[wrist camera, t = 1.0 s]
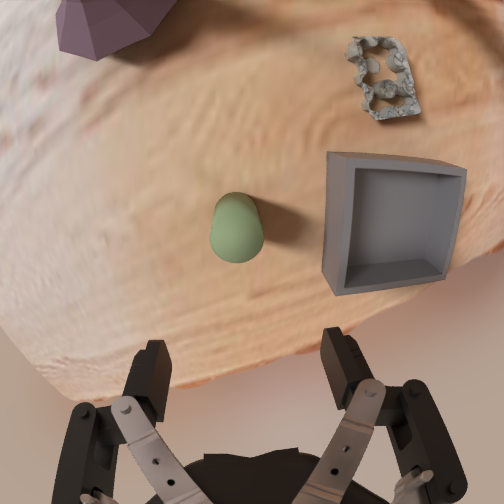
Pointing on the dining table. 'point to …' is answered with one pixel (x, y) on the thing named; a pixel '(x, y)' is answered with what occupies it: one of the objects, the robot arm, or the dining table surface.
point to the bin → (389, 220)
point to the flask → (106, 24)
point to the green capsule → (236, 228)
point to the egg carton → (386, 87)
